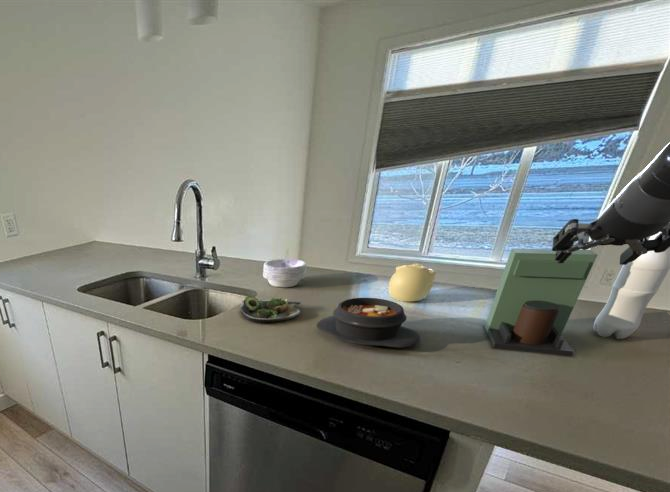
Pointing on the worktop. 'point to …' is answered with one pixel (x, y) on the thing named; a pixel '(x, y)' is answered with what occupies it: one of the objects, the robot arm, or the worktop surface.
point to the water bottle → (632, 293)
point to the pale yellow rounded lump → (411, 282)
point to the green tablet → (537, 295)
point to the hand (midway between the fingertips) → (590, 259)
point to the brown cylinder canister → (535, 322)
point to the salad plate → (268, 310)
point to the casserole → (370, 323)
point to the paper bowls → (284, 272)
